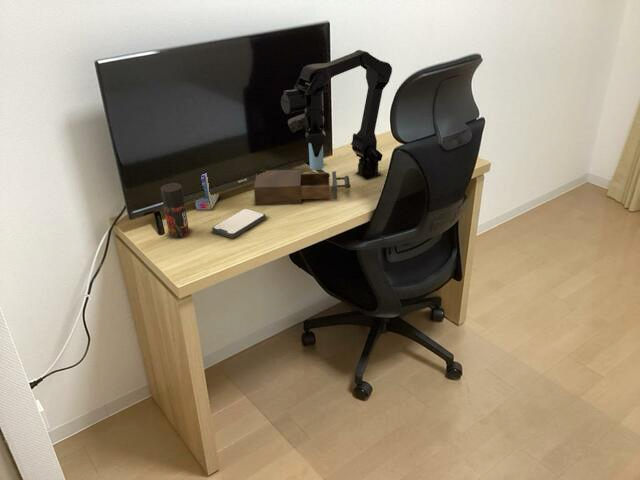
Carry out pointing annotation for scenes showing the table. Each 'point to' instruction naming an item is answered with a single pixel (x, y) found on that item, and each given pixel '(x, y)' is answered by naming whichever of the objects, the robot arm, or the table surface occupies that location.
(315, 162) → the glue bottle
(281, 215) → the table surface
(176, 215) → the deodorant
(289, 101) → the robot arm
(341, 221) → the table surface
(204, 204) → the ink cartridge box
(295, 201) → the cabinet
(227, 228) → the phone case
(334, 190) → the drawer
